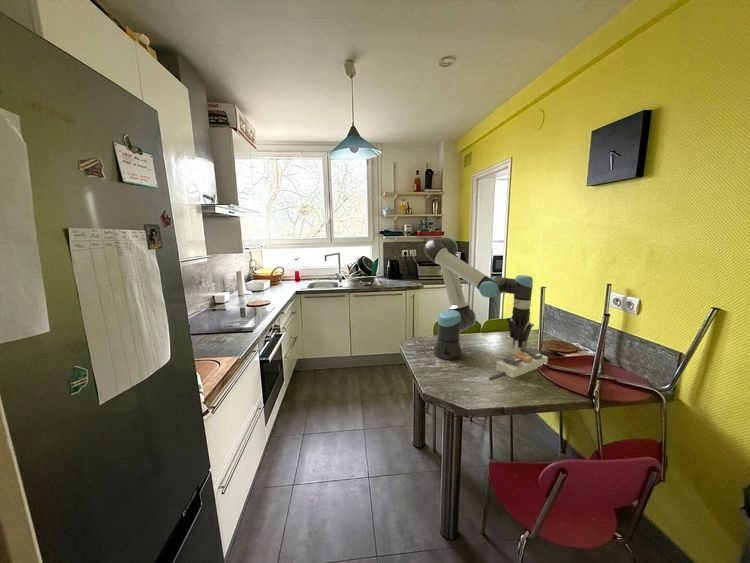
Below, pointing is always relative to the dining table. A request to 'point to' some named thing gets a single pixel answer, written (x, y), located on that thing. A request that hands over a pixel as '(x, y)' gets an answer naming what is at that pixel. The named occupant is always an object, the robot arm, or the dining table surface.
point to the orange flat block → (523, 356)
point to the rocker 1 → (512, 360)
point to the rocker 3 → (533, 353)
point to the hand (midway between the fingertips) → (517, 352)
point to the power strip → (519, 367)
